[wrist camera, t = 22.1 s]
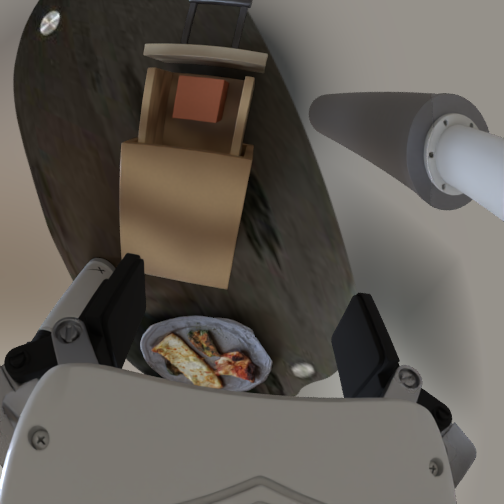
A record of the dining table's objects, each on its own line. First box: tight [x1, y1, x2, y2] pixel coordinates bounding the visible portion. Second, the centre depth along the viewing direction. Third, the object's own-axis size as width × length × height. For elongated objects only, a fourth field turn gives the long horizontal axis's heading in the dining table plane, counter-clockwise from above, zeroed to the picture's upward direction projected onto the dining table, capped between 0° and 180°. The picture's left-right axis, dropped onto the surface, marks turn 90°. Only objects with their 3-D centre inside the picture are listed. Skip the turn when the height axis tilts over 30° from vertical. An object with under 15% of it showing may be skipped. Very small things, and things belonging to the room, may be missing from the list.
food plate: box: [140, 316, 273, 392], centre depth 49 cm, size 25×23×4 cm
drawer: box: [138, 0, 268, 156], centre depth 24 cm, size 20×11×7 cm, turn 169°
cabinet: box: [120, 137, 254, 289], centre depth 31 cm, size 15×13×9 cm
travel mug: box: [26, 258, 116, 344], centre depth 33 cm, size 6×7×20 cm
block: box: [172, 75, 229, 123], centre depth 25 cm, size 4×4×4 cm
